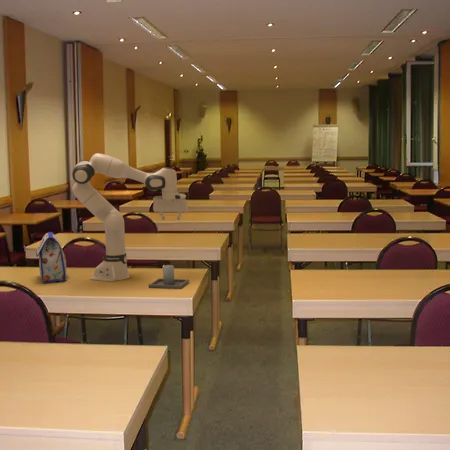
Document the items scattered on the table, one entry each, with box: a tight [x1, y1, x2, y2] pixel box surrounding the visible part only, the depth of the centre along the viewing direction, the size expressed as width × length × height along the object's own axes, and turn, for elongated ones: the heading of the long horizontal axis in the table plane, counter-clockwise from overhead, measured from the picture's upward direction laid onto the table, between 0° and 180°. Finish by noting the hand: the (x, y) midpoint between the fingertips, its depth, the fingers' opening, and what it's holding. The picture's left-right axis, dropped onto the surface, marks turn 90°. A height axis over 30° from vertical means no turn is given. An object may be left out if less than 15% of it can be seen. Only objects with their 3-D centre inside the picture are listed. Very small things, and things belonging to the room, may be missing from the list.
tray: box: [148, 278, 190, 290], centre depth 351 cm, size 18×14×2 cm
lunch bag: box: [35, 231, 67, 284], centre depth 375 cm, size 23×17×27 cm
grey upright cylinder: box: [162, 264, 176, 285], centre depth 351 cm, size 6×6×10 cm
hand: (171, 219), depth 368 cm, fingers open, 8 cm apart
